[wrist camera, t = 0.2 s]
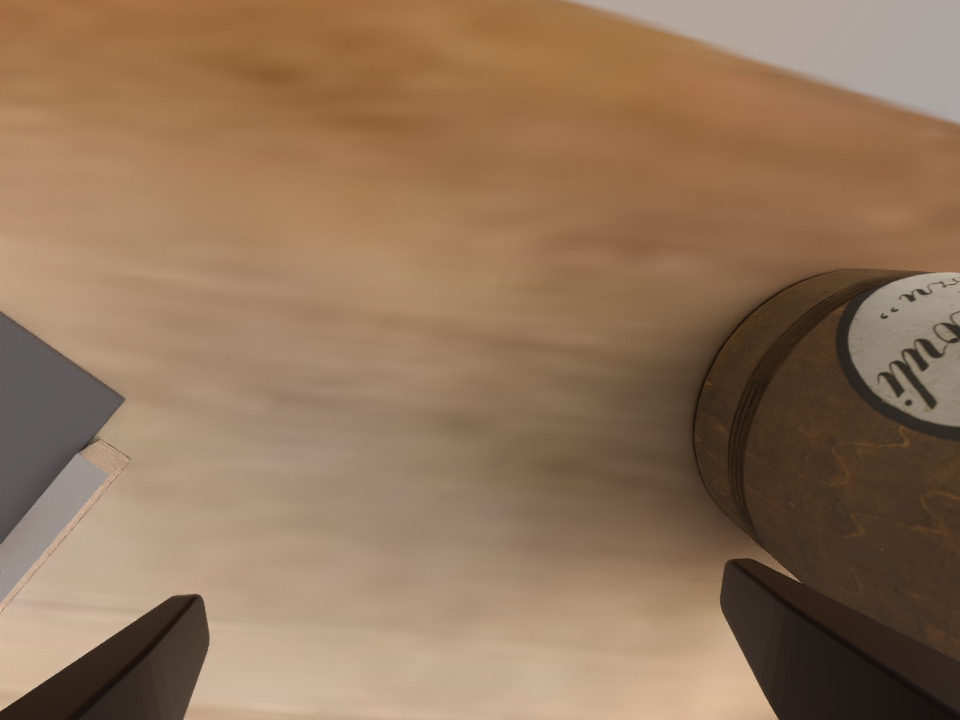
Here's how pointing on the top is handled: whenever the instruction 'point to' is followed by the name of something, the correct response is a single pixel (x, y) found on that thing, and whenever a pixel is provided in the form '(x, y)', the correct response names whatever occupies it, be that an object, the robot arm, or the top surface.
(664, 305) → the top surface
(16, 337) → the grey square plate
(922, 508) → the wooden container
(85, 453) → the steel straightedge
